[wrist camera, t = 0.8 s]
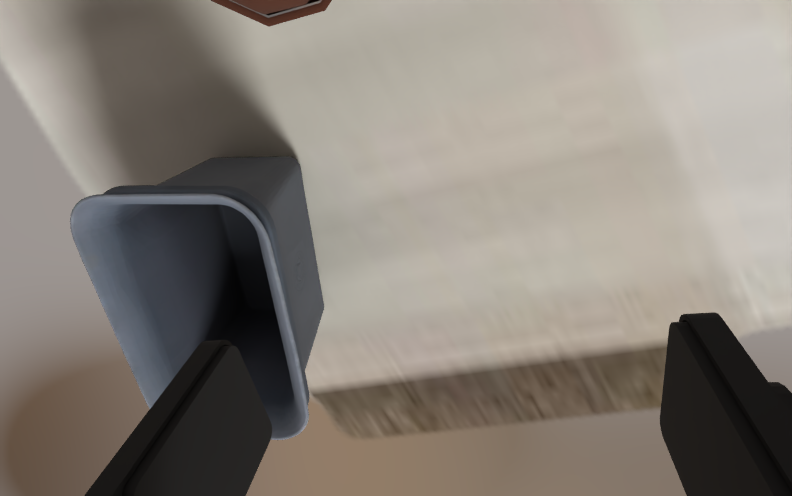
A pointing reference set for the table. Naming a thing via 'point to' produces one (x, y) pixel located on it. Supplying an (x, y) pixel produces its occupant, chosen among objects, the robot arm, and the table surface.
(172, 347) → the storage bin
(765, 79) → the table surface
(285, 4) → the ice cream bowl
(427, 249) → the table surface
